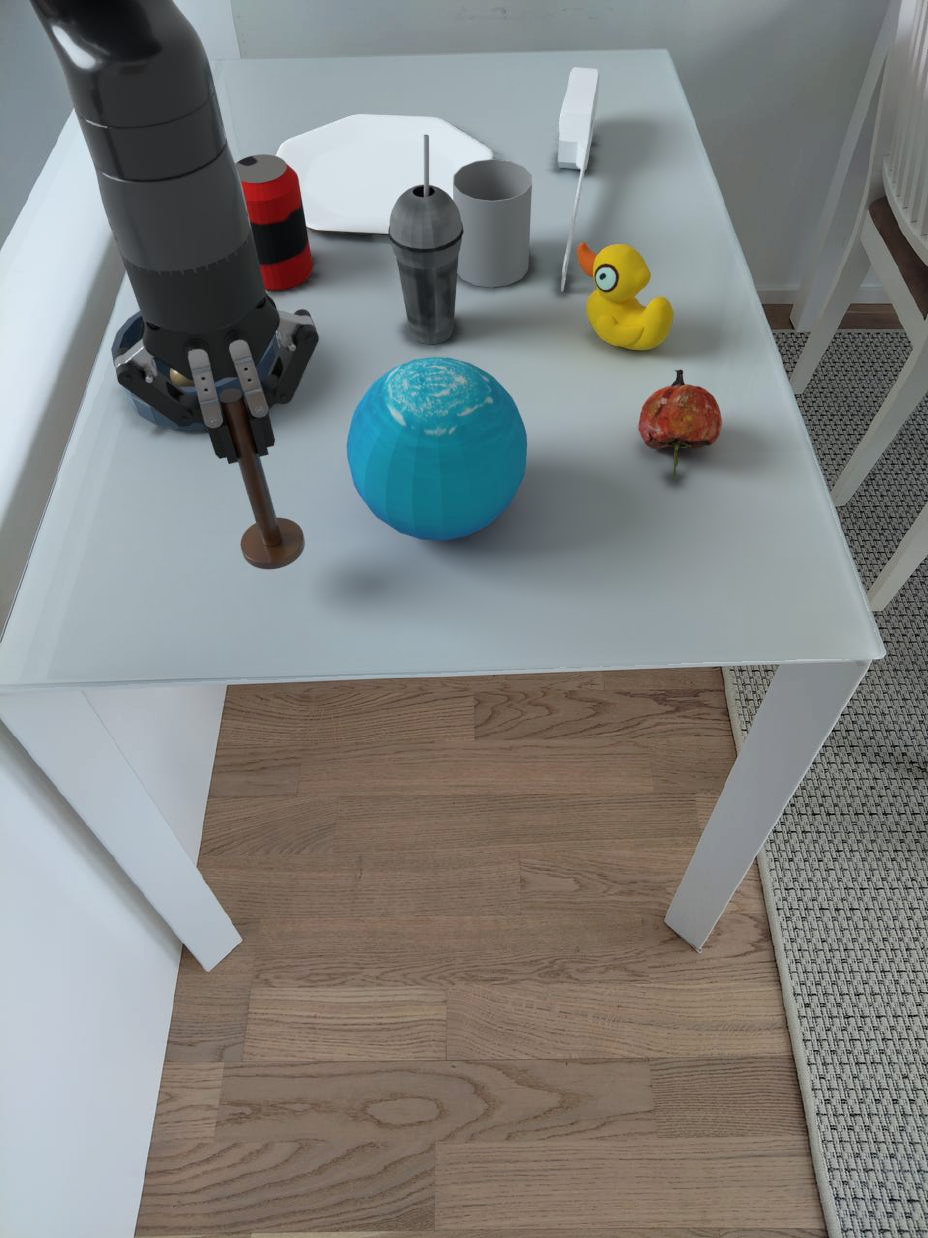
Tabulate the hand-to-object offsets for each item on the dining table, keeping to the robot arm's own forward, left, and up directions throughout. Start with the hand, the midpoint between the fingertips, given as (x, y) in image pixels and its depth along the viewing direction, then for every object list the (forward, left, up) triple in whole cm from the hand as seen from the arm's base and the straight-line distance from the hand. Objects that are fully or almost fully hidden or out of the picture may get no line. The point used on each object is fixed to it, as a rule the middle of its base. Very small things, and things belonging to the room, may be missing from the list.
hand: (247, 451), depth 66 cm
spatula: (+45, +47, -15) cm, 67 cm away
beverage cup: (+22, +28, -15) cm, 39 cm away
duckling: (+40, +20, -15) cm, 47 cm away
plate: (+25, +59, -15) cm, 66 cm away
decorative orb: (+15, +3, -15) cm, 22 cm away
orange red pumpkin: (+38, +3, -15) cm, 41 cm away
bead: (-4, +27, -13) cm, 30 cm away
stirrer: (0, -1, -10) cm, 10 cm away
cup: (+32, +37, -15) cm, 51 cm away
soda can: (+9, +44, -15) cm, 47 cm away
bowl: (-2, +28, -15) cm, 32 cm away
